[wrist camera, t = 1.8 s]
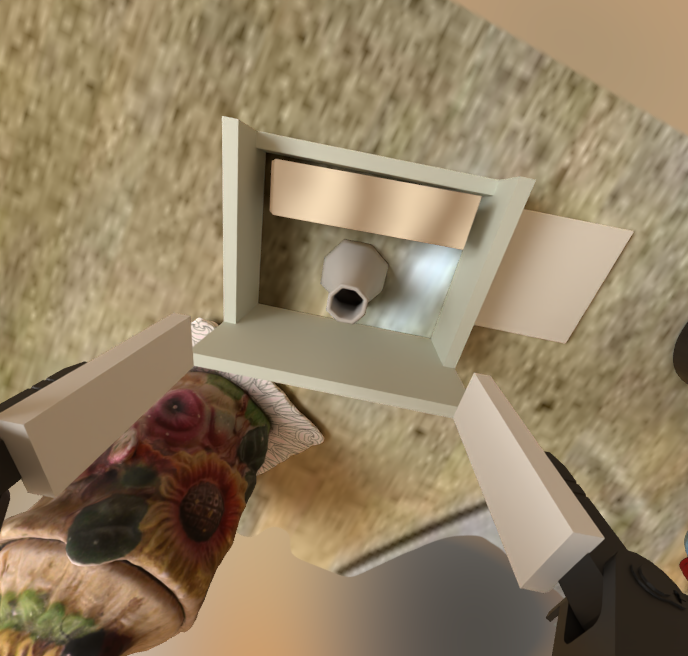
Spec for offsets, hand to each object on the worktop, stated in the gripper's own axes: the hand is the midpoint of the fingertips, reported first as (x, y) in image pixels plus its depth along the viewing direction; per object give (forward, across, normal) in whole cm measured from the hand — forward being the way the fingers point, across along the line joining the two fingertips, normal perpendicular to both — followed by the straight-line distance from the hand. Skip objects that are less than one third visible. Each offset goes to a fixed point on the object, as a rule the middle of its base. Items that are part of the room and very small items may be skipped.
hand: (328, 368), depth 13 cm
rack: (+19, 0, -2) cm, 19 cm away
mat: (+19, -19, -3) cm, 27 cm away
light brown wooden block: (+19, 0, -7) cm, 20 cm away
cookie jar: (+19, +16, +25) cm, 35 cm away
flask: (+19, 0, 0) cm, 19 cm away
